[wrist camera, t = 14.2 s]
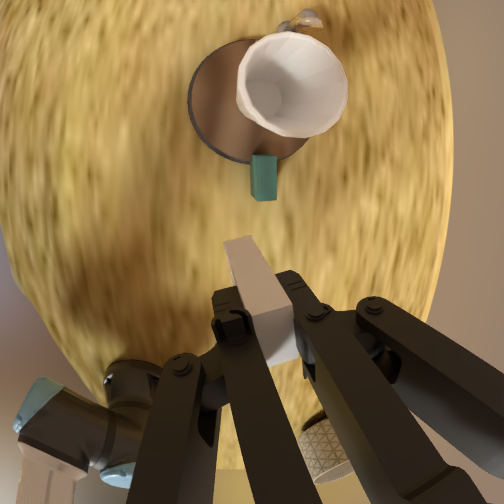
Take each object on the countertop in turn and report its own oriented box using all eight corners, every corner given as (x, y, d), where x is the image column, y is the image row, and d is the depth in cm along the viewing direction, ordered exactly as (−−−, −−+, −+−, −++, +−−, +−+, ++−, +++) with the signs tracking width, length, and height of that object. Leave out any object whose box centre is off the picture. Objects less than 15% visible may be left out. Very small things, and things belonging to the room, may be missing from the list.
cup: (204, 106, 30) (211, 90, 19) (252, 49, 28) (284, 11, 16) (267, 151, 34) (308, 162, 23) (311, 95, 32) (367, 83, 20)
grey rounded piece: (277, 41, 30) (300, 21, 22) (276, 21, 28) (298, -3, 21) (301, 44, 31) (329, 26, 23) (300, 24, 29) (327, 3, 21)
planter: (282, 433, 68) (300, 483, 52) (336, 399, 66) (363, 450, 50) (312, 443, 76) (330, 484, 60) (359, 414, 74) (383, 455, 58)
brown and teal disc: (196, 198, 36) (197, 206, 32) (191, 43, 27) (191, 32, 23) (315, 190, 39) (329, 197, 36) (315, 48, 30) (328, 41, 27)
